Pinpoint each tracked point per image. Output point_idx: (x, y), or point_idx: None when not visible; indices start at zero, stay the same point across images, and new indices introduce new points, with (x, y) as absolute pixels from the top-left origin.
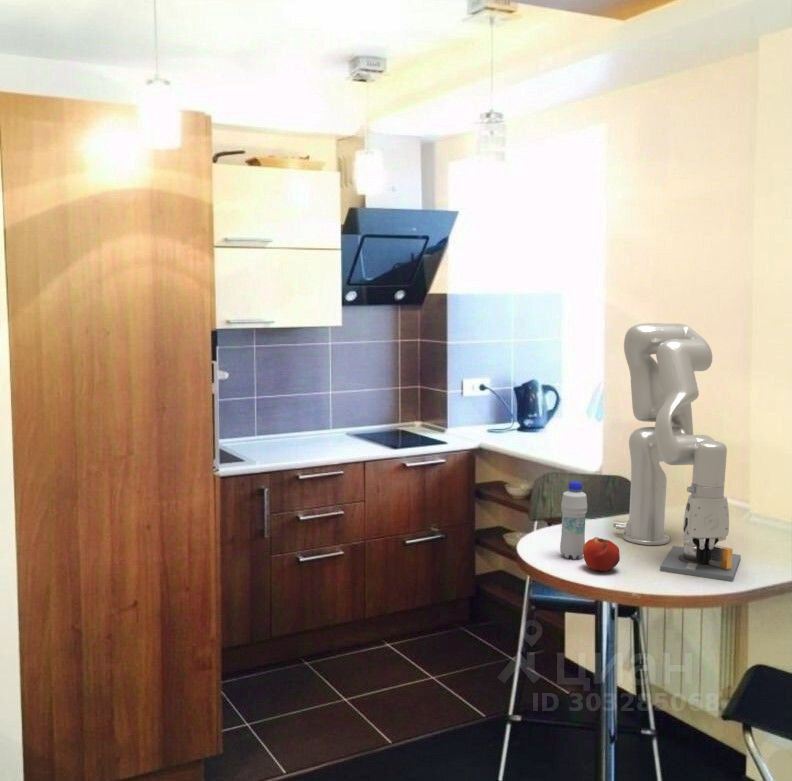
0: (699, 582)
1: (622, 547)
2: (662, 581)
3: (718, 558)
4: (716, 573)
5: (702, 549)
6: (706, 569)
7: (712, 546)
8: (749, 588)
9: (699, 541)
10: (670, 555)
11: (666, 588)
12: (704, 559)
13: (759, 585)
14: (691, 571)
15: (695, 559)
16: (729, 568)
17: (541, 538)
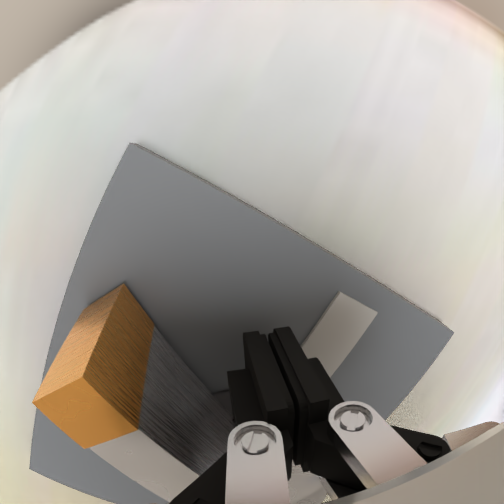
0: (360, 140)
1: None
2: (491, 182)
3: (161, 378)
4: (224, 217)
5: (340, 404)
6: (258, 304)
7: (236, 449)
8: (94, 25)
9: (411, 448)
10: None
11: (501, 98)
12: (290, 348)
13: (13, 89)
14: (362, 274)
15: None
16: (98, 299)
17: None
